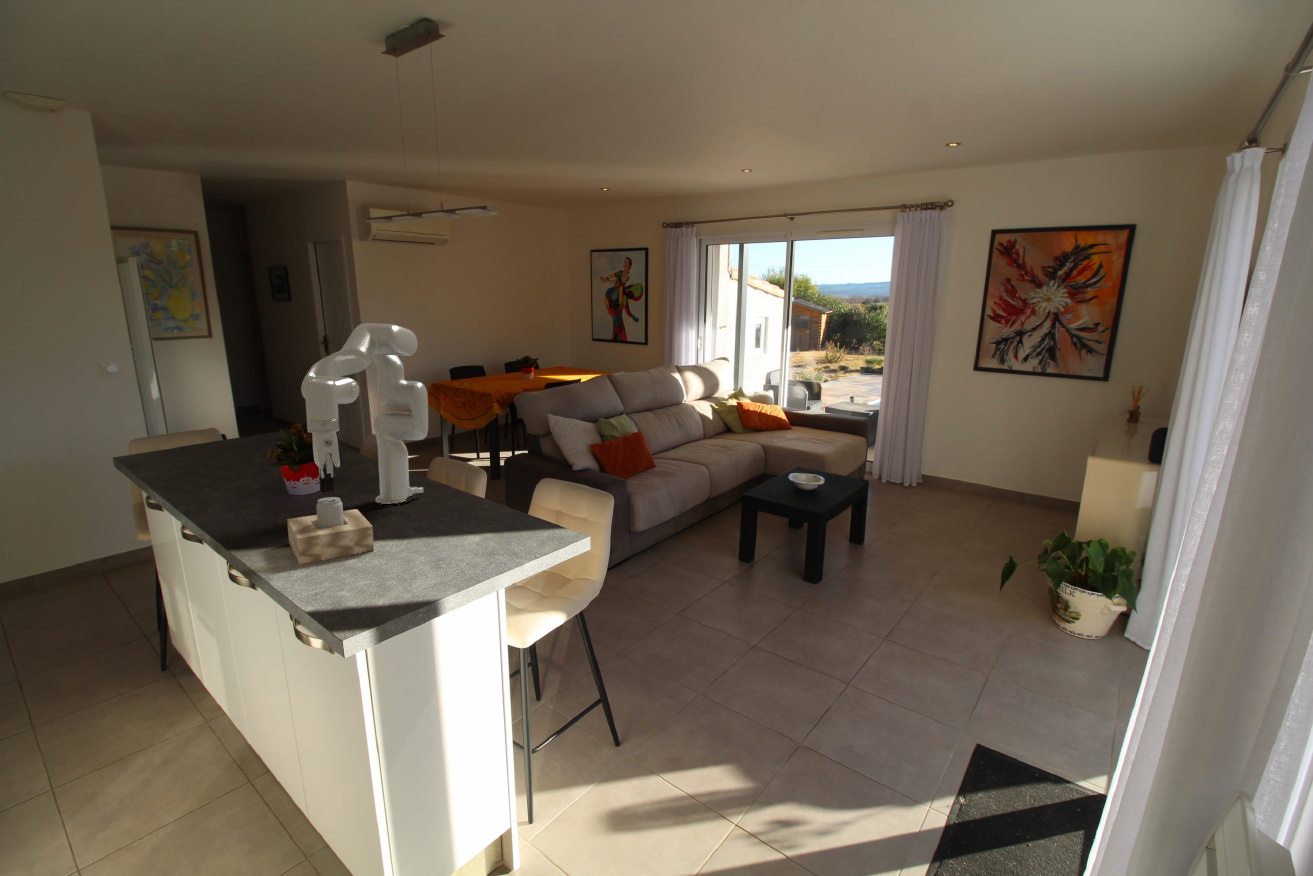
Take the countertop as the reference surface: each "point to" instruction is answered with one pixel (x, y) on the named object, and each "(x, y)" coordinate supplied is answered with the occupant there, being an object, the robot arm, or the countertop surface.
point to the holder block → (329, 537)
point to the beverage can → (329, 512)
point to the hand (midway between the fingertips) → (327, 491)
